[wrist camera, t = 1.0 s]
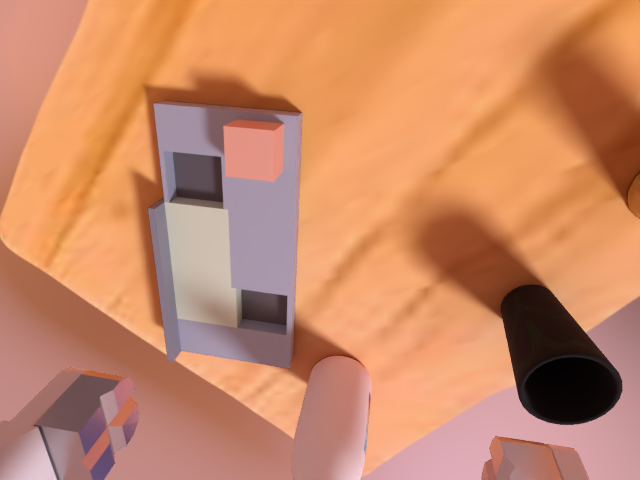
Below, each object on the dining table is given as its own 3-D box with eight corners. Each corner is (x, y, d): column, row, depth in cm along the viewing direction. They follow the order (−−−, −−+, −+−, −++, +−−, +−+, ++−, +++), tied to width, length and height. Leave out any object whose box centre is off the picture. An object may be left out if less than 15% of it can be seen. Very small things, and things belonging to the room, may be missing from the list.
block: (237, 119, 39) (223, 126, 36) (284, 123, 39) (274, 130, 36) (238, 166, 41) (225, 176, 38) (283, 170, 41) (273, 181, 38)
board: (156, 100, 42) (134, 105, 38) (302, 112, 40) (292, 119, 37) (182, 339, 55) (167, 360, 51) (293, 357, 53) (285, 380, 50)
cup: (482, 330, 47) (507, 416, 36) (500, 271, 44) (533, 346, 33) (555, 341, 46) (602, 433, 35) (579, 282, 43) (639, 363, 32)
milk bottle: (299, 366, 54) (250, 529, 36) (349, 344, 51) (324, 509, 33) (332, 407, 56) (302, 580, 38) (383, 388, 53) (375, 565, 35)
